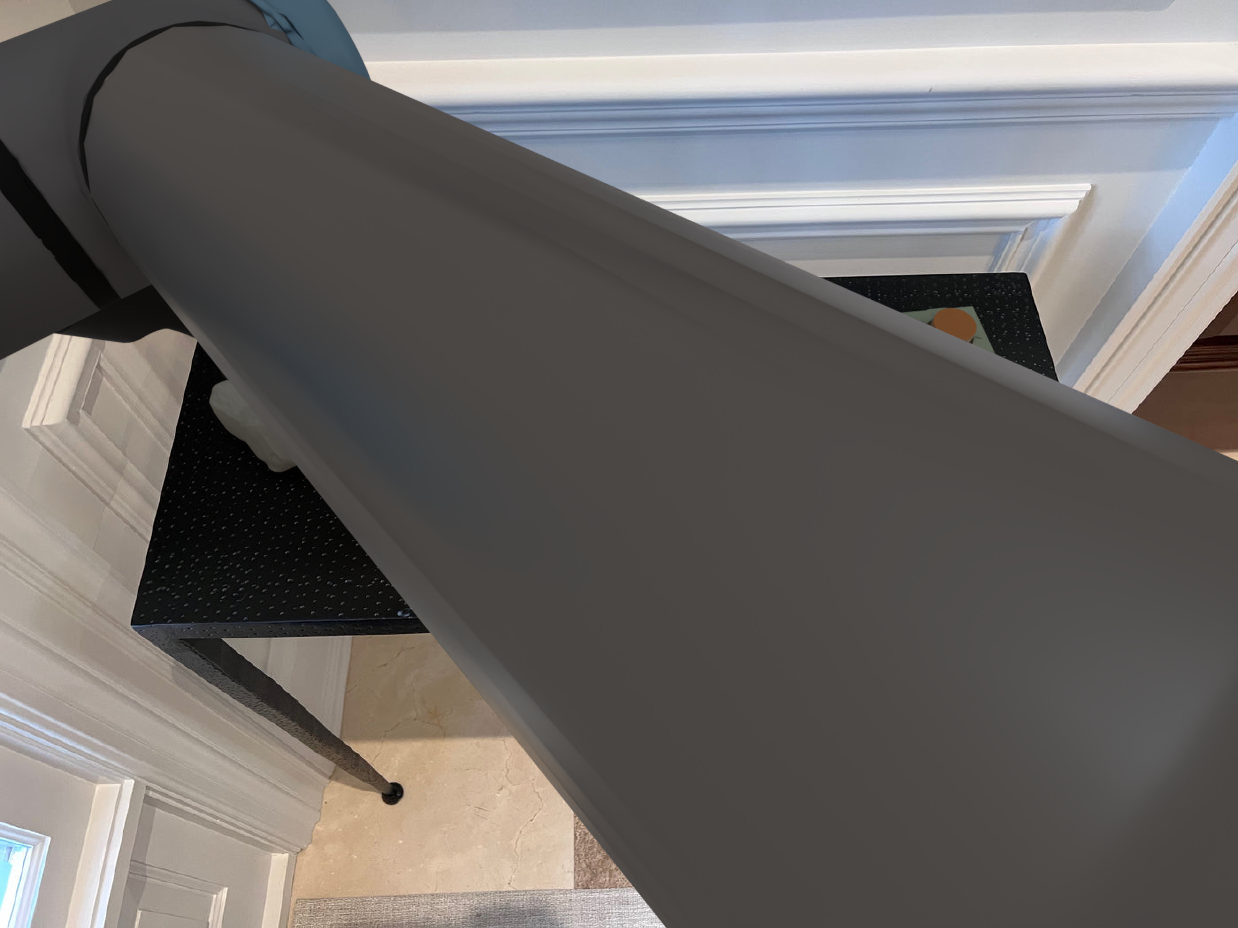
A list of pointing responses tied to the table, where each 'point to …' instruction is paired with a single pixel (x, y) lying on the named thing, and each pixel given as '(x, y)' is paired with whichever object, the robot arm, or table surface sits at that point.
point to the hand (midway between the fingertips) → (446, 331)
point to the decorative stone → (248, 426)
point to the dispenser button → (955, 323)
